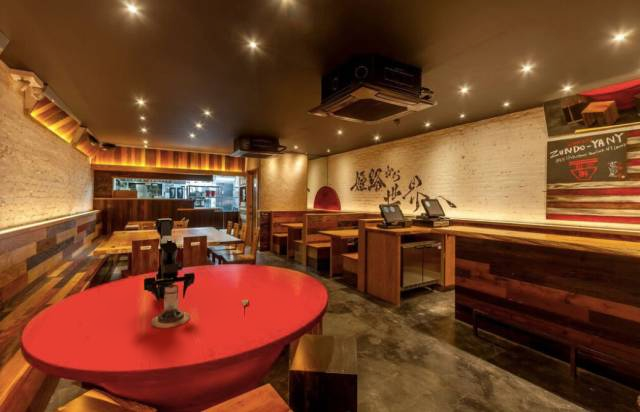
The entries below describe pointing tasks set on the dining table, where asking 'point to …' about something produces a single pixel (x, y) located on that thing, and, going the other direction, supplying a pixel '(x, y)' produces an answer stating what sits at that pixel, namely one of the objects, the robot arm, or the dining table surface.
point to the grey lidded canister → (170, 301)
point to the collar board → (160, 325)
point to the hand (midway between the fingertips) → (171, 299)
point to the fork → (245, 302)
